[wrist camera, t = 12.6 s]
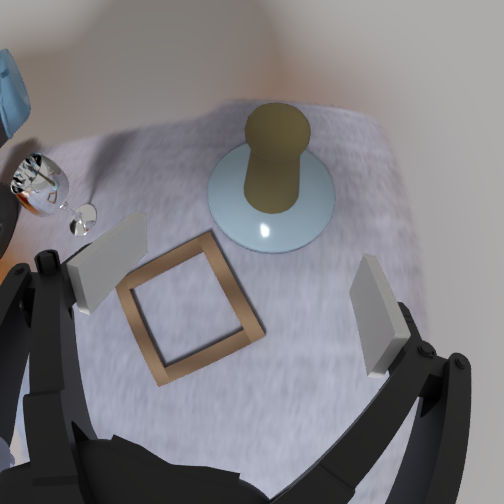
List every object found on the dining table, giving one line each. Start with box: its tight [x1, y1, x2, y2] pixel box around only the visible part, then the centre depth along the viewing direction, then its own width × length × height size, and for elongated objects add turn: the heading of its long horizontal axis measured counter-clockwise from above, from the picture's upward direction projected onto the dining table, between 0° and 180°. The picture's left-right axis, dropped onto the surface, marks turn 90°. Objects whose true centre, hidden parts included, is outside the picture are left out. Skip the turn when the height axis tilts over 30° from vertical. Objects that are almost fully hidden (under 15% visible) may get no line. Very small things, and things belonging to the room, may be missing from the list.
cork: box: [243, 103, 311, 214], centre depth 24 cm, size 6×6×11 cm
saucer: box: [207, 143, 335, 254], centre depth 29 cm, size 14×14×1 cm
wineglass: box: [11, 153, 96, 237], centre depth 24 cm, size 6×6×12 cm
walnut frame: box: [115, 231, 265, 387], centre depth 26 cm, size 12×12×1 cm
